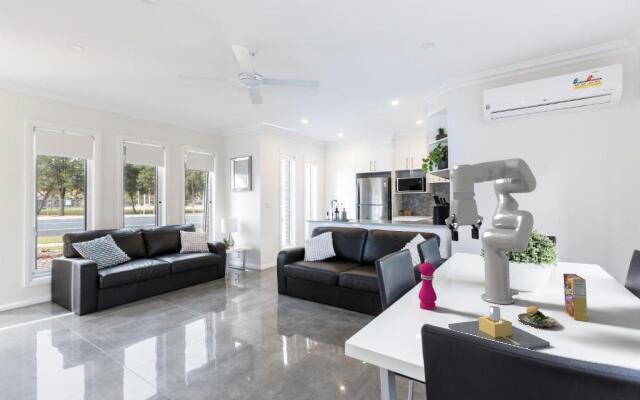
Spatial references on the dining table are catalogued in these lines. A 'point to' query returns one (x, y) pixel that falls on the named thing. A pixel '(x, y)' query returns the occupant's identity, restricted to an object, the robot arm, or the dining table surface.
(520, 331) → the hub plate
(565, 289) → the candy box
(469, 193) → the robot arm
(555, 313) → the dining table surface
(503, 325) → the yellow socket block
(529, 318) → the plate of food
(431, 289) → the pepper mill
